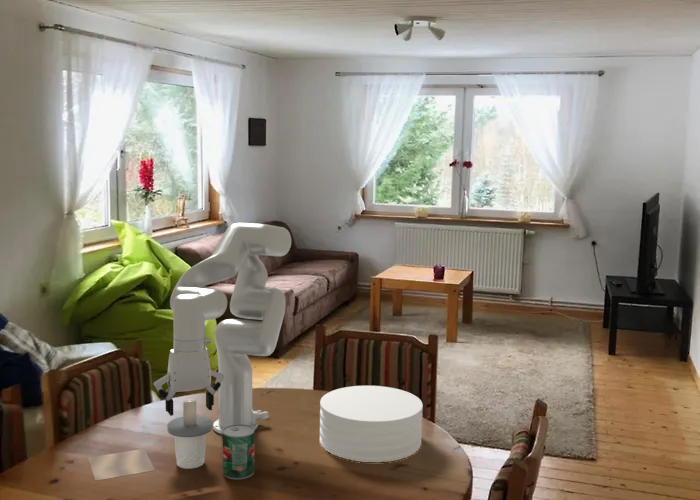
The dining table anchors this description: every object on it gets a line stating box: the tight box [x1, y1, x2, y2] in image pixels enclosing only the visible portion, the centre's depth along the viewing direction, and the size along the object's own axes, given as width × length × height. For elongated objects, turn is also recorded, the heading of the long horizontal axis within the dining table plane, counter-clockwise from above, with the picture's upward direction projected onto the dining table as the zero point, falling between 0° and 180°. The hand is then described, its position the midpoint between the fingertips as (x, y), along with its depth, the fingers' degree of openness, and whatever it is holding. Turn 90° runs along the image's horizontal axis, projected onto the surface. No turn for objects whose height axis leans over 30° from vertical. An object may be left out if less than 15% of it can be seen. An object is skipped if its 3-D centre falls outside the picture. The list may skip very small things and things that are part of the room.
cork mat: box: [87, 448, 156, 481], centre depth 186 cm, size 14×14×1 cm
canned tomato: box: [221, 424, 256, 480], centre depth 184 cm, size 8×8×11 cm
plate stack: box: [319, 385, 424, 462], centre depth 205 cm, size 28×28×12 cm
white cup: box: [173, 434, 207, 470], centre depth 187 cm, size 8×8×10 cm
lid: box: [166, 398, 213, 437], centre depth 186 cm, size 11×11×7 cm
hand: (189, 411), depth 186 cm, fingers open, 9 cm apart
